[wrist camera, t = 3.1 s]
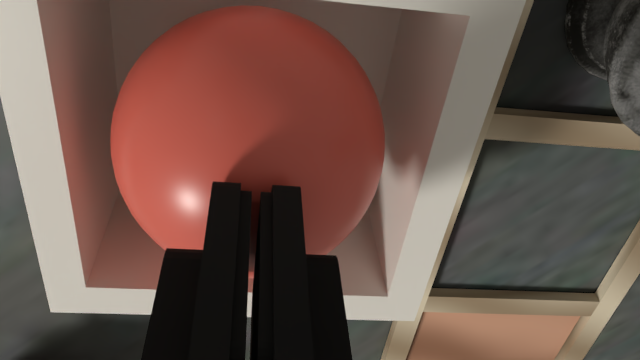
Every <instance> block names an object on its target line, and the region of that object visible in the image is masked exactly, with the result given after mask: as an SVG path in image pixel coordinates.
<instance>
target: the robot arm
mask: <svg viewBox="0 0 640 360" xmlns="http://www.w3.org/2000/svg"><path fill="white" fill-rule="evenodd" d="M251 204H252V191H241V183H232V182H216V181H213V182H212V189H211V196H210V203H209V210H208V217H207V225H206V232H205V239H204V246H203V250H196V249H173V248H167V249H166V251H165V254H164V257H163V262H162V267H161V271H160V276H159V280H158V285H157V289H156V294H155V299H154V303H153V308H152V312H151V317H150V322H149V326H148V331H147V335H146V340H145V345H144V349H143V354H142V358H141V360H245V349H246V325H247V301H248V277H249V252H250V228H251ZM250 360H352V355H351V347H350V340H349V333H348V326H347V319H346V312H345V305H344V298H343V291H342V284H341V276H340V269H339V263H338V258H337V257H336V255H313V254H306V249H305V236H304V223H303V209H302V196H301V187H300V186H283V185H272V190H271V192H261V195H260V207H259V219H258V231H257V243H256V255H255V266H254V278H253V291H252V311H251V342H250Z"/></svg>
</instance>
